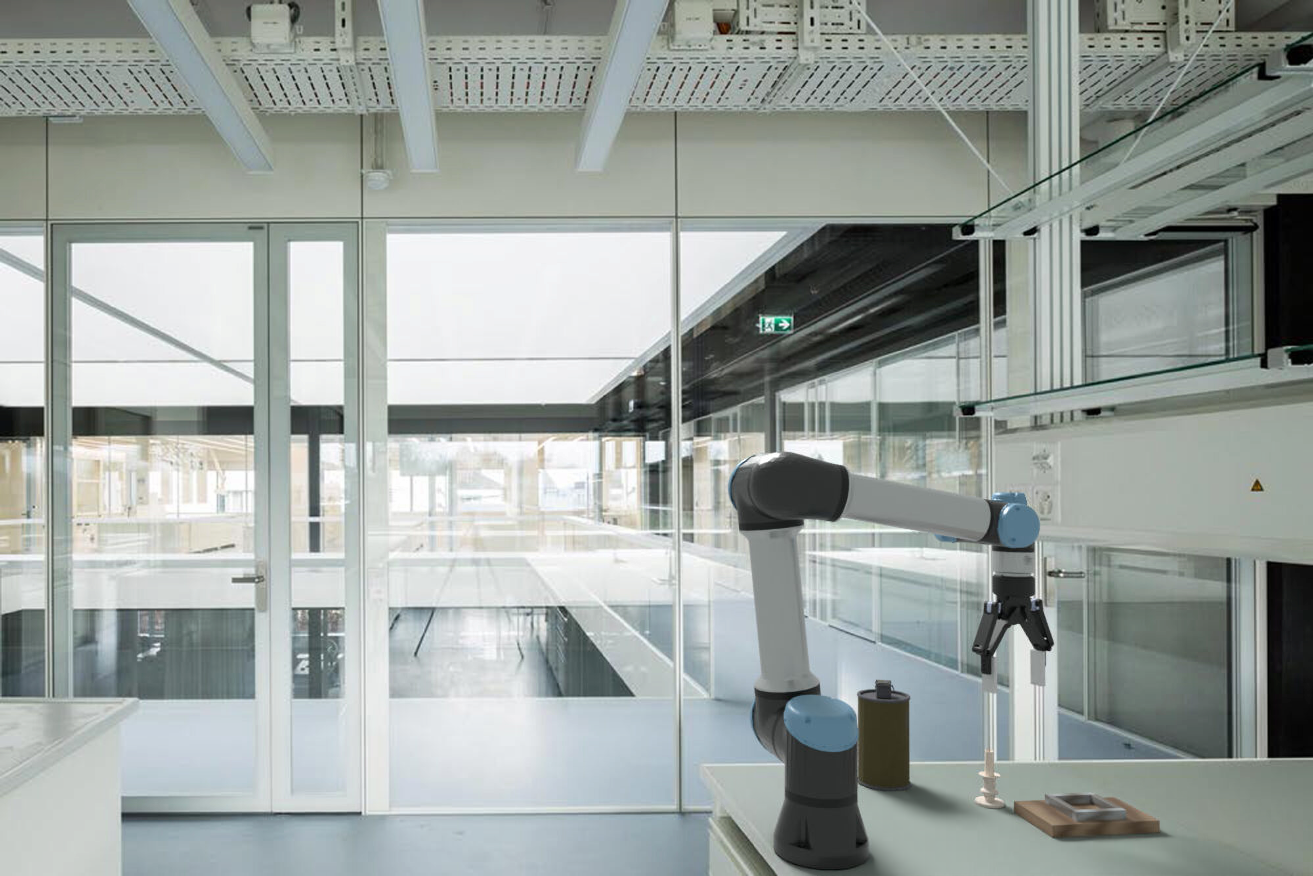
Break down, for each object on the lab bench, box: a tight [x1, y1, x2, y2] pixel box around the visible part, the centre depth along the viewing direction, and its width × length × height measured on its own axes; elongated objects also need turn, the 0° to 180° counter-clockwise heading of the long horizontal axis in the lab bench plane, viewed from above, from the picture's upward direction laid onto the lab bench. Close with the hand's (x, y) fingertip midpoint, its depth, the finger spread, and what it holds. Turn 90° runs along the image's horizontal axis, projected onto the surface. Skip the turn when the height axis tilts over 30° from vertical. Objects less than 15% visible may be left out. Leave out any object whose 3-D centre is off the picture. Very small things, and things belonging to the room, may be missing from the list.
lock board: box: [1013, 791, 1161, 838], centre depth 160 cm, size 20×12×4 cm, turn 98°
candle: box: [974, 746, 1005, 809], centre depth 169 cm, size 5×5×10 cm
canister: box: [856, 679, 912, 792], centre depth 181 cm, size 11×10×20 cm
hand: (1014, 688), depth 169 cm, fingers open, 13 cm apart
